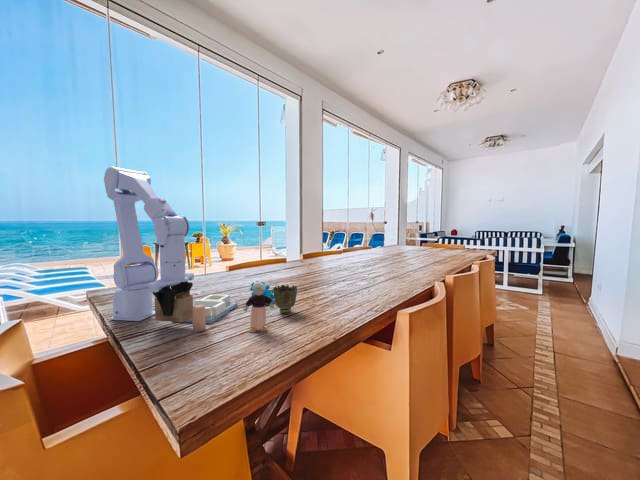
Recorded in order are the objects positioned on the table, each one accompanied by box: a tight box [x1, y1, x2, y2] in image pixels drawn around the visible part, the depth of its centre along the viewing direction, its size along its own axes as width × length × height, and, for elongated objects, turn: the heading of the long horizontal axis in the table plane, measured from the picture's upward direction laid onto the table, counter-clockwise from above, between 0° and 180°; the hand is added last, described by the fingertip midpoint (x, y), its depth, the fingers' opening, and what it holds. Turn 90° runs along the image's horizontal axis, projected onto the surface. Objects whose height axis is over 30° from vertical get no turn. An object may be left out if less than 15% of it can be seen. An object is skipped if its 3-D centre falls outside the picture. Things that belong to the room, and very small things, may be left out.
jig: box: [184, 294, 238, 324], centre depth 80 cm, size 12×16×4 cm
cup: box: [272, 284, 298, 315], centre depth 80 cm, size 8×7×8 cm
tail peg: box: [192, 305, 207, 332], centre depth 68 cm, size 3×3×6 cm
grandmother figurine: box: [243, 281, 275, 334], centre depth 67 cm, size 8×4×13 cm, turn 117°
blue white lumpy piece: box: [249, 280, 275, 306], centre depth 92 cm, size 11×6×10 cm
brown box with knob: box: [154, 291, 194, 323], centre depth 69 cm, size 8×4×7 cm, turn 82°
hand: (174, 312), depth 69 cm, fingers closed on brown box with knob, 4 cm apart
